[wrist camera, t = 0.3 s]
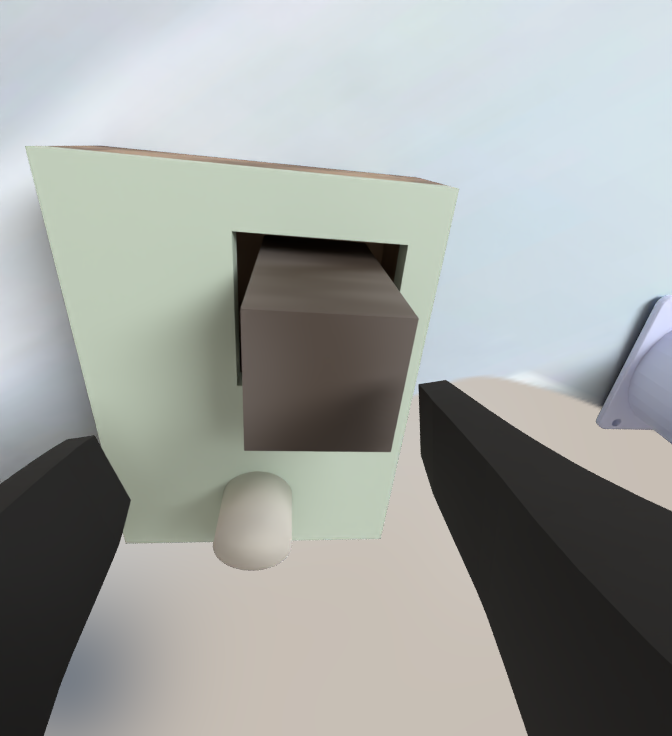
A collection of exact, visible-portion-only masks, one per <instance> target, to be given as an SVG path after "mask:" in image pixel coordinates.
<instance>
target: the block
mask: <svg viewBox="0 0 672 736" xmlns="http://www.w3.org/2000/svg"><path fill="white" fill-rule="evenodd" d="M240 313H241V351H242V389H243V427H244V451H313V452H391V449H392V444H393V440H394V435H395V430H396V425H397V420H398V416H399V411H400V406H401V401H402V397H403V392H404V387H405V382H406V378H407V373H408V368H409V363H410V359H411V354H412V349H413V344H414V339H415V335H416V330H417V325H418V320H419V318H418V316H417V315H416V314H415V312H414V311H413V310H412V308H411V307H410V305H409V304H408V303H407V301H406V300H405V298H404V297H403V296H402V294H401V293H400V291H399V290H398V289H397V287H396V286H395V284H394V283H393V282H392V280H391V279H390V277H389V276H388V275H387V273H386V272H385V270H384V269H383V268H382V266H381V265H380V263H379V262H378V261H377V259H376V258H375V256H374V255H373V254H372V252H371V251H370V249H369V248H368V247H367V245H366V244H365V243H360V242H348V241H335V240H322V239H309V238H296V237H283V236H270V235H265V236H264V239H263V242H262V245H261V248H260V251H259V254H258V257H257V260H256V263H255V266H254V269H253V272H252V275H251V278H250V281H249V284H248V287H247V290H246V293H245V296H244V299H243V302H242V305H241V309H240Z"/></svg>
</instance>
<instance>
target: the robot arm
mask: <svg viewBox="0 0 672 736" xmlns="http://www.w3.org/2000/svg"><path fill="white" fill-rule="evenodd" d="M419 413H420V445H421V457H422V460H423V463H424V466H425V470H426V473H427V476H428V479H429V482H430V486H431V489H432V492H433V494H434V497H435V499H436V501H437V504H438V506H439V508H440V511H441V513H442V515H443V517H444V520H445V522H446V524H447V526H448V528H449V530H450V533H451V535H452V537H453V540H454V542H455V544H456V546H457V548H458V551H459V553H460V555H461V557H462V559H463V561H464V564H465V566H466V568H467V570H468V572H469V575H470V577H471V579H472V581H473V584H474V586H475V588H476V590H477V593H478V595H479V598H480V600H481V602H482V605H483V607H484V610H485V612H486V615H487V618H488V620H489V623H490V626H491V629H492V632H493V635H494V637H495V640H496V643H497V646H498V649H499V652H500V655H501V657H502V660H503V663H504V666H505V669H506V672H507V675H508V678H509V681H510V684H511V687H512V690H513V693H514V695H515V699H516V701H517V704H518V707H519V710H520V713H521V716H522V719H523V722H524V725H525V728H526V731H527V734H528V736H672V511H670V510H667V509H666V508H663V507H661V506H659V505H657V504H655V503H653V502H650V501H648V500H646V499H644V498H642V497H640V496H638V495H635V494H634V493H632V492H630V491H628V490H626V489H624V488H622V487H620V486H618V485H615V484H614V483H612V482H610V481H608V480H606V479H604V478H601V477H600V476H598V475H596V474H594V473H592V472H590V471H588V470H586V469H584V468H582V467H581V466H579V465H577V464H575V463H574V462H572V461H570V460H568V459H567V458H565V457H563V456H561V455H560V454H558V453H556V452H555V451H553V450H551V449H549V448H548V447H546V446H544V445H543V444H541V443H539V442H538V441H536V440H534V439H533V438H531V437H529V436H528V435H526V434H525V433H523V432H522V431H520V430H518V429H517V428H515V427H514V426H512V425H510V424H509V423H508V422H506V421H505V420H503V419H502V418H500V417H499V416H497V415H496V414H494V413H493V412H491V411H489V410H488V409H487V408H485V407H484V406H483V405H481V404H480V403H478V402H477V401H475V400H474V399H472V398H471V397H470V396H468V395H467V394H465V393H464V392H463V391H461V390H460V389H458V388H457V387H455V386H454V385H452V384H451V383H450V382H448V381H447V380H443V381H437V382H431V383H424V384H419ZM596 423H597V424H598V425H599V426H600V427H601V428H603V429H643V430H655V431H656V432H657V433H659V434H660V435H661V436H662V437H664V438H665V439H666V440H667V441H669V442H670V443H671V444H672V295H666V296H664V297H662V298H660V299H659V300H658V301H657V302H656V304H655V306H654V308H653V310H652V312H651V314H650V316H649V317H648V319H647V321H646V323H645V325H644V327H643V329H642V331H641V333H640V335H639V337H638V339H637V341H636V343H635V345H634V347H633V349H632V351H631V353H630V355H629V356H628V358H627V360H626V362H625V364H624V366H623V368H622V370H621V372H620V374H619V376H618V378H617V380H616V382H615V384H614V386H613V388H612V390H611V392H610V393H609V395H608V397H607V399H606V401H605V403H604V405H603V407H602V409H601V411H600V413H599V415H598V417H597V419H596ZM130 502H131V499H130V497H129V496H128V494H127V492H126V490H125V489H124V487H123V485H122V483H121V481H120V480H119V478H118V476H117V474H116V473H115V471H114V469H113V467H112V466H111V464H110V462H109V460H108V458H107V457H106V455H105V453H104V451H103V450H102V448H101V446H100V444H99V443H98V441H97V439H96V437H95V435H93V436H87V437H81V438H74V439H68V440H66V441H64V442H62V443H60V444H59V445H57V446H55V447H54V448H52V449H50V450H49V451H47V452H46V453H44V454H43V455H41V456H40V457H38V458H37V459H35V460H34V461H32V462H31V463H29V464H28V465H27V466H25V467H24V468H22V469H21V470H19V471H18V472H17V473H15V474H14V475H12V476H11V477H10V478H8V479H7V480H5V481H4V482H3V483H1V484H0V736H44V733H45V730H46V727H47V724H48V721H49V718H50V715H51V712H52V709H53V706H54V703H55V700H56V697H57V693H58V690H59V687H60V685H61V682H62V679H63V677H64V674H65V672H66V669H67V667H68V664H69V661H70V659H71V656H72V654H73V651H74V649H75V647H76V645H77V642H78V640H79V637H80V635H81V633H82V631H83V628H84V626H85V624H86V621H87V619H88V617H89V615H90V612H91V610H92V607H93V605H94V603H95V601H96V598H97V596H98V594H99V591H100V589H101V586H102V584H103V582H104V580H105V577H106V575H107V572H108V570H109V568H110V565H111V563H112V561H113V558H114V556H115V553H116V551H117V548H118V546H119V542H120V539H121V536H122V533H123V529H124V526H125V522H126V518H127V514H128V510H129V506H130Z"/></svg>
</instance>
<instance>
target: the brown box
mask: <svg viewBox="0 0 672 736" xmlns="http://www.w3.org/2000/svg"><path fill="white" fill-rule="evenodd" d="M50 147H60V148H70V149H81V150H91V151H101V152H111V153H121V154H131V155H141V156H151V157H162V158H172V159H182V160H192V161H202V162H212V163H222V164H232V165H242V166H253V167H263V168H273V169H283V170H293V171H303V172H313V173H323V174H334V175H344V176H354V177H364V178H374V179H384V180H394V181H404V182H414V183H425V184H435V185H443V184H439V183H436V182H432V181H428V180H424V179H421V178H416V177H406V176H396V175H386V174H376V173H366V172H356V171H346V170H336V169H326V168H316V167H306V166H297V165H287V164H277V163H267V162H257V161H247V160H237V159H227V158H217V157H207V156H197V155H187V154H177V153H167V152H157V151H147V150H137V149H127V148H117V147H108V146H50ZM445 186H447V185H445ZM265 235H270V236H283V237H296V238H309V239H322V240H335V241H348V242H360V243H365V244H366V245H367V247H368V248H369V249H370V251H371V252H372V254H373V255H374V256H375V258H376V259H377V261H378V262H379V263H380V265H381V266H382V268H383V269H384V270H385V272H386V273H387V275H388V276H389V277H390V279H391V280H392V282H393V283H394V277H395V271H396V265H397V259H398V254H399V248H400V244H389V243H377V242H364V241H351V240H338V239H325V238H312V237H300V236H287V235H274V234H261V233H248V232H236V243H237V278H238V312H239V347H240V372H242V351H241V313H240V309H241V305H242V302H243V299H244V296H245V293H246V290H247V287H248V284H249V281H250V278H251V275H252V272H253V269H254V266H255V263H256V260H257V257H258V254H259V251H260V248H261V245H262V242H263V239H264V236H265Z"/></svg>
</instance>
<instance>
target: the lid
mask: <svg viewBox="0 0 672 736" xmlns="http://www.w3.org/2000/svg"><path fill="white" fill-rule="evenodd" d="M25 148H26V152H27V156H28V160H29V164H30V168H31V172H32V176H33V180H34V184H35V188H36V192H37V196H38V200H39V204H40V207H41V211H42V215H43V219H44V223H45V227H46V231H47V235H48V239H49V243H50V247H51V251H52V255H53V259H54V263H55V267H56V270H57V274H58V278H59V282H60V286H61V290H62V294H63V298H64V302H65V306H66V310H67V314H68V318H69V322H70V326H71V330H72V334H73V337H74V341H75V345H76V349H77V353H78V357H79V361H80V365H81V369H82V373H83V377H84V381H85V385H86V389H87V393H88V397H89V401H90V404H91V408H92V412H93V416H94V420H95V424H96V428H97V432H98V436H99V440H100V444H101V448H102V450H103V451H104V453H105V455H106V457H107V458H108V460H109V462H110V464H111V466H112V467H113V469H114V471H115V473H116V474H117V476H118V478H119V480H120V481H121V483H122V485H123V487H124V489H125V490H126V492H127V494H128V496H129V497H130V499H131V502H130V506H129V510H128V514H127V518H126V522H125V526H124V529H123V535H124V538H125V542H126V544H127V543H180V542H213V550H214V553H215V555H216V556H217V558H219V560H221V561H222V562H223V563H224V564H226V565H228V566H230V567H233V568H236V569H241V570H248V571H251V570H253V571H254V570H263V569H267V568H270V567H273V566H275V565H277V564H279V563H281V562H282V561H283V560H285V559H286V558H287V556H288V555H289V553H290V551H291V548H292V540H341V539H342V540H343V539H380V538H381V534H382V530H383V526H384V521H385V517H386V512H387V508H388V503H389V499H390V494H391V490H392V485H393V481H394V477H395V472H396V468H397V463H398V459H399V454H400V450H401V445H402V441H403V437H404V432H405V428H406V423H407V418H408V414H409V410H410V405H411V401H412V396H413V392H414V388H415V383H416V379H417V374H418V370H419V365H420V361H421V356H422V352H423V347H424V343H425V339H426V334H427V330H428V325H429V321H430V316H431V312H432V307H433V303H434V299H435V294H436V290H437V285H438V281H439V276H440V272H441V267H442V263H443V258H444V254H445V250H446V245H447V241H448V236H449V232H450V227H451V223H452V218H453V214H454V209H455V205H456V201H457V196H458V192H459V189H458V188H454V187H450V186H445V185H435V184H425V183H414V182H404V181H394V180H384V179H374V178H364V177H354V176H344V175H334V174H323V173H313V172H303V171H293V170H283V169H273V168H263V167H253V166H242V165H232V164H222V163H212V162H202V161H192V160H182V159H172V158H162V157H151V156H141V155H131V154H121V153H111V152H101V151H91V150H81V149H70V148H60V147H50V146H25ZM236 232H248V233H261V234H274V235H287V236H300V237H312V238H325V239H338V240H351V241H364V242H377V243H389V244H400V248H399V254H398V259H397V265H396V271H395V277H394V284H395V286H396V287H397V289H398V290H399V291H400V293H401V294H402V296H403V297H404V298H405V300H406V301H407V303H408V304H409V305H410V307H411V308H412V310H413V311H414V312H415V314H416V315H417V316H418V318H419V320H418V325H417V330H416V335H415V339H414V344H413V349H412V354H411V359H410V363H409V368H408V373H407V378H406V382H405V387H404V392H403V397H402V401H401V406H400V411H399V416H398V420H397V425H396V430H395V435H394V440H393V444H392V449H391V452H313V451H244V427H243V389H242V372H240V347H239V312H238V278H237V243H236Z"/></svg>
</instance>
